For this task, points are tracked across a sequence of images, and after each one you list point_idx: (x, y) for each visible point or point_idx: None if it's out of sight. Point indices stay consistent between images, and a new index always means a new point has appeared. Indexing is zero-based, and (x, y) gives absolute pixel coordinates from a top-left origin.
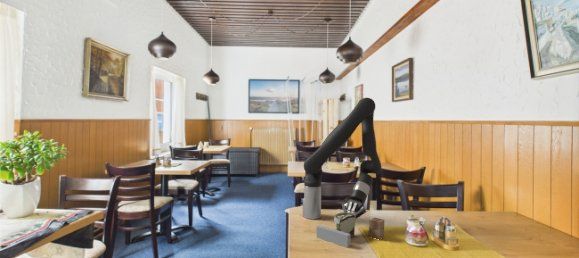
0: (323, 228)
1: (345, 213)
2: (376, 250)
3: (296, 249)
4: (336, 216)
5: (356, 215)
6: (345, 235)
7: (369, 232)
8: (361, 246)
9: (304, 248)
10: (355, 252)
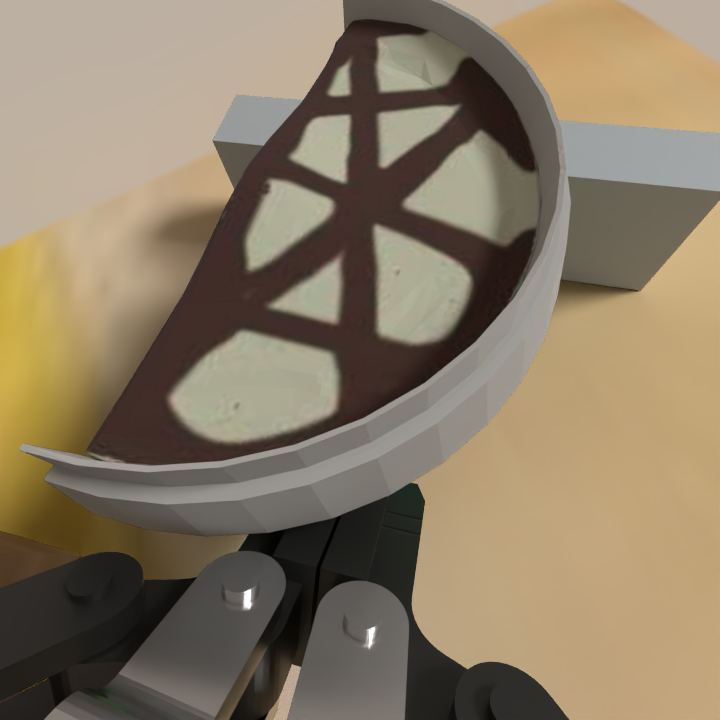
0: (587, 124)
1: (386, 414)
2: (28, 264)
3: (606, 13)
4: (527, 160)
5: (54, 591)
6: (261, 100)
7: (20, 549)
8: (157, 273)
9: (569, 45)
10: (195, 160)
